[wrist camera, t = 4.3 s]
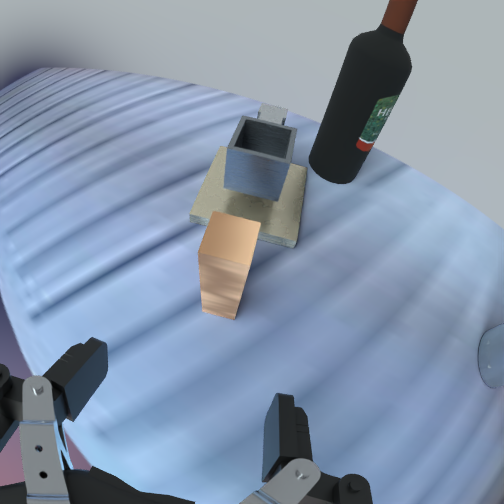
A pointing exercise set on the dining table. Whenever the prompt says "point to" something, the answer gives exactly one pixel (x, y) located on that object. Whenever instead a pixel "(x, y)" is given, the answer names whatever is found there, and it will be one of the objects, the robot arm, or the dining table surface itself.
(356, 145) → the wine bottle
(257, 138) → the cup bracket
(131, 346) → the dining table surface
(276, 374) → the dining table surface
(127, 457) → the dining table surface
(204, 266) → the tan wooden block
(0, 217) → the dining table surface
